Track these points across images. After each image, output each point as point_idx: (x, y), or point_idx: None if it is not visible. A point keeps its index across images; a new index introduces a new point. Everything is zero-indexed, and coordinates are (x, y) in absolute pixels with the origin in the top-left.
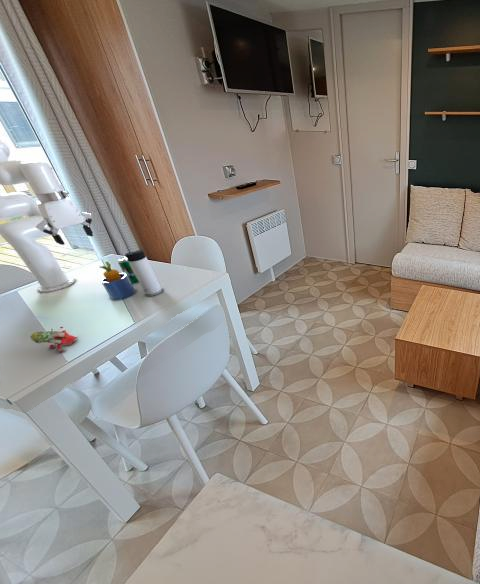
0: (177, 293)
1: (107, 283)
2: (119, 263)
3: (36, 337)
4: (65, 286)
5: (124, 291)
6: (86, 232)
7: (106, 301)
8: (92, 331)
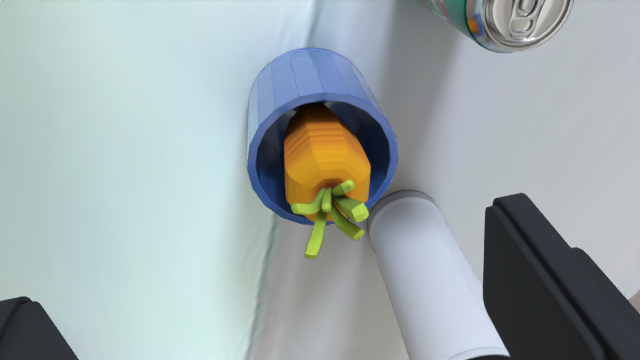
0: None
1: (267, 204)
2: (462, 16)
3: None
4: None
5: None
6: (514, 284)
7: (221, 112)
8: (117, 335)
